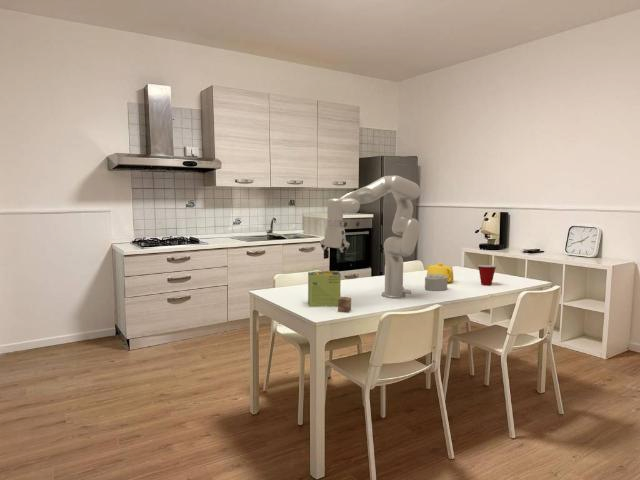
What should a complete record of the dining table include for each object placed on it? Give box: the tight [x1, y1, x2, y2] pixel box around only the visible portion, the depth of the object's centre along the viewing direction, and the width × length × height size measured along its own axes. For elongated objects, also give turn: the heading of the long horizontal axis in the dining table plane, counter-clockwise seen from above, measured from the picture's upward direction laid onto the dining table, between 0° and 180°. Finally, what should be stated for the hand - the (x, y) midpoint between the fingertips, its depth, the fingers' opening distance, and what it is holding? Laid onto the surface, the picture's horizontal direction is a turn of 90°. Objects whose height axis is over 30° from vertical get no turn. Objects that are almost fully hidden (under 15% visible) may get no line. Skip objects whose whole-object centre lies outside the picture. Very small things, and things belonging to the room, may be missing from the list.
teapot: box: [425, 262, 454, 284], centre depth 277 cm, size 20×12×12 cm, turn 34°
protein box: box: [307, 270, 342, 307], centre depth 216 cm, size 10×15×16 cm
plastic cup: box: [477, 264, 497, 286], centre depth 267 cm, size 11×11×12 cm
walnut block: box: [337, 296, 352, 314], centre depth 203 cm, size 5×5×6 cm
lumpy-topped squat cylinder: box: [424, 274, 448, 292], centre depth 253 cm, size 10×13×9 cm
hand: (334, 259), depth 214 cm, fingers open, 9 cm apart
